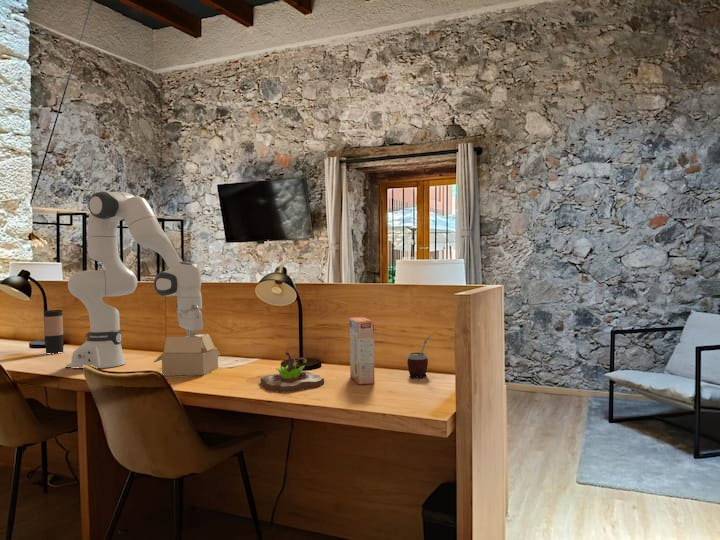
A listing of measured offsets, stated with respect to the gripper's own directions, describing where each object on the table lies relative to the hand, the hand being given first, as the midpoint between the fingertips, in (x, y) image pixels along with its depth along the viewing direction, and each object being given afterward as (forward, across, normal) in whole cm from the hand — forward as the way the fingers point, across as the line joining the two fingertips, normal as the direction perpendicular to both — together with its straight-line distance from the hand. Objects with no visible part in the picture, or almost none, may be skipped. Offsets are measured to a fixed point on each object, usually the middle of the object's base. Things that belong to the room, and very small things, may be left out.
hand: (191, 341), depth 212 cm
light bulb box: (+12, +19, -7) cm, 24 cm away
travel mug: (+11, +86, +40) cm, 95 cm away
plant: (+12, -43, -21) cm, 49 cm away
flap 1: (+3, -6, +5) cm, 9 cm away
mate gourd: (+12, -61, -61) cm, 87 cm away
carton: (+11, +3, +1) cm, 12 cm away
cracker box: (+12, -53, -42) cm, 69 cm away
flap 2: (+3, -6, -6) cm, 9 cm away
